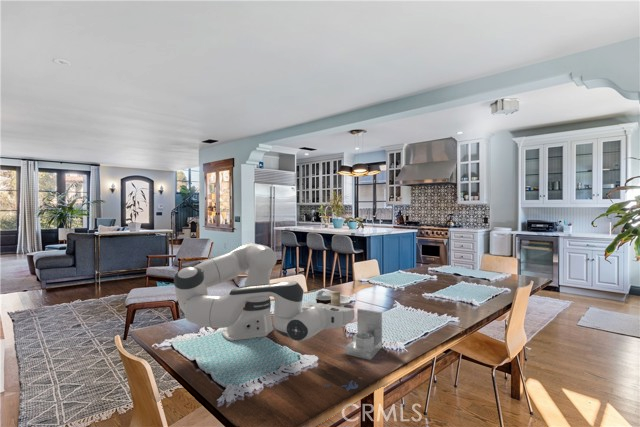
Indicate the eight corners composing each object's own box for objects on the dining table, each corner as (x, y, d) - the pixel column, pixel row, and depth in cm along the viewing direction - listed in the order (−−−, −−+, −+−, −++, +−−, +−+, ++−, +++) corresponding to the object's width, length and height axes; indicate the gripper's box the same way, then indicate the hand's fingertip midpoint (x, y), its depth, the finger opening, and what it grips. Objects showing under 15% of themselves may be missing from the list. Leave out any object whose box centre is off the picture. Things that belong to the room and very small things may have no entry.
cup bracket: (370, 360, 124) (370, 321, 124) (345, 354, 129) (345, 317, 129) (382, 347, 135) (382, 312, 135) (358, 342, 140) (358, 308, 140)
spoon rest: (354, 306, 192) (354, 293, 191) (340, 310, 183) (340, 297, 183) (324, 297, 209) (324, 286, 208) (310, 301, 200) (310, 289, 200)
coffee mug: (331, 320, 167) (331, 300, 166) (314, 319, 168) (314, 299, 168) (335, 313, 178) (335, 294, 178) (319, 312, 180) (319, 293, 179)
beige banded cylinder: (334, 329, 133) (334, 293, 133) (329, 326, 136) (329, 291, 136) (342, 327, 135) (341, 292, 135) (336, 324, 138) (336, 290, 138)
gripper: (295, 320, 129) (314, 310, 141) (344, 329, 119) (360, 318, 131) (295, 303, 129) (314, 295, 141) (344, 311, 119) (360, 301, 131)
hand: (336, 306), depth 136 cm, fingers closed on beige banded cylinder, 4 cm apart
